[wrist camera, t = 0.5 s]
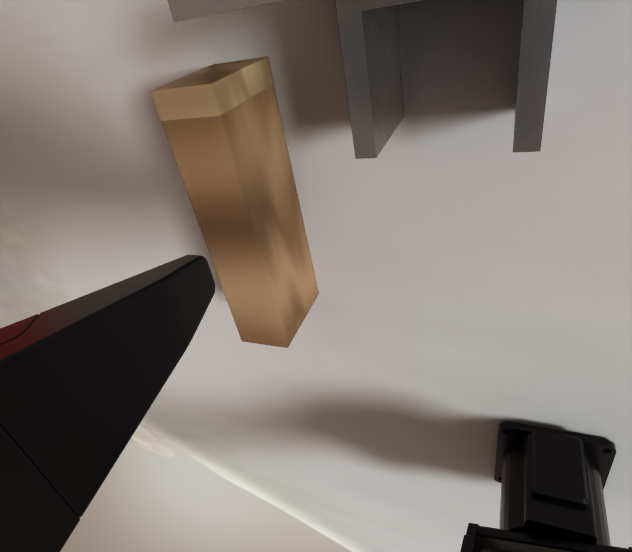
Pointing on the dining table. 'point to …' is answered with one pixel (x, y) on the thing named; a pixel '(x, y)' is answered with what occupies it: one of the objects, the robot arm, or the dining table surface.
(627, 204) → the dining table surface
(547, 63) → the cup bracket
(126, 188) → the dining table surface
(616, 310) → the dining table surface
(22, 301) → the dining table surface
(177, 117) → the rail
